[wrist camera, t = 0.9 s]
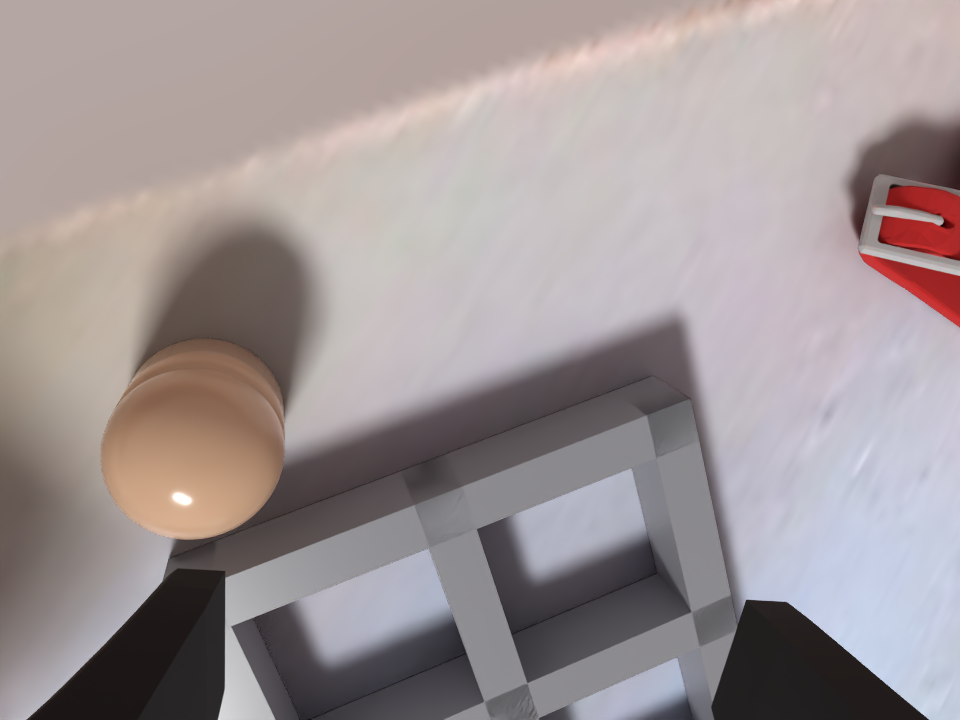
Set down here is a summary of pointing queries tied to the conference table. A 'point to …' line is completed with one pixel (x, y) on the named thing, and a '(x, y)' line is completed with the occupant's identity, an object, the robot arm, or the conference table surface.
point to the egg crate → (467, 577)
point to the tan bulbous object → (195, 440)
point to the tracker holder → (915, 240)
